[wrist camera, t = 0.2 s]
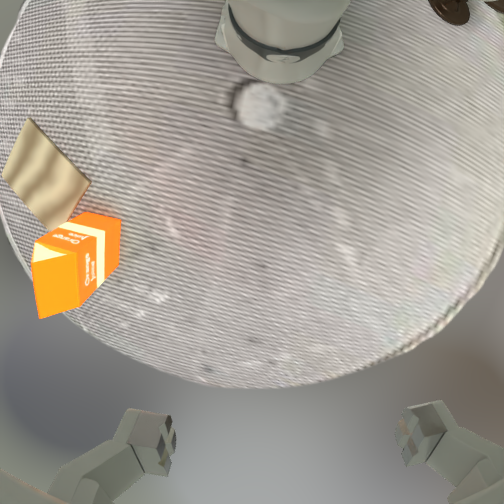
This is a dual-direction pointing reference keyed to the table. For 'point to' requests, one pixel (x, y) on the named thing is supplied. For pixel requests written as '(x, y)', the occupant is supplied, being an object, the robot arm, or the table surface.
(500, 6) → the candlestick
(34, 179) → the board
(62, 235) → the orange juice
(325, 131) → the table surface
